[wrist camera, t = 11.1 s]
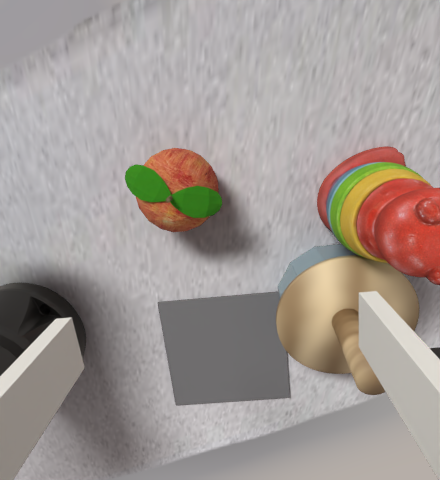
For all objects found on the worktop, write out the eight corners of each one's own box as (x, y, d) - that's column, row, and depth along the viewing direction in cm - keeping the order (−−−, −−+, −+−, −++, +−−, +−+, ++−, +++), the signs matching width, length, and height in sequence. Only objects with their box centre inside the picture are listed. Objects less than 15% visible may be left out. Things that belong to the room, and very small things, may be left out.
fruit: (202, 234, 43) (193, 263, 33) (130, 198, 42) (99, 217, 32) (235, 170, 40) (236, 181, 31) (160, 130, 39) (136, 129, 30)
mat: (176, 403, 50) (175, 405, 49) (158, 302, 45) (157, 303, 45) (289, 396, 49) (289, 397, 48) (282, 291, 44) (282, 292, 44)
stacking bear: (405, 235, 42) (525, 303, 25) (320, 249, 43) (379, 325, 26) (401, 142, 39) (533, 148, 22) (309, 160, 40) (367, 179, 23)
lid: (277, 371, 42) (288, 442, 34) (273, 260, 36) (286, 313, 28) (406, 365, 41) (450, 438, 33) (425, 250, 35) (485, 303, 27)
